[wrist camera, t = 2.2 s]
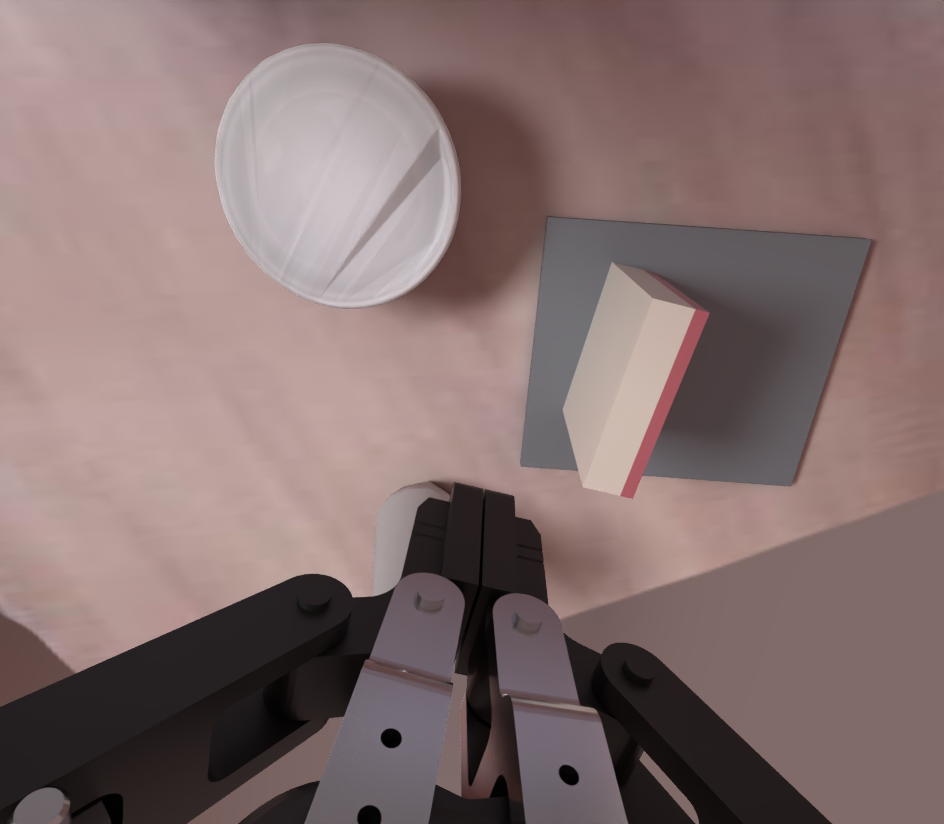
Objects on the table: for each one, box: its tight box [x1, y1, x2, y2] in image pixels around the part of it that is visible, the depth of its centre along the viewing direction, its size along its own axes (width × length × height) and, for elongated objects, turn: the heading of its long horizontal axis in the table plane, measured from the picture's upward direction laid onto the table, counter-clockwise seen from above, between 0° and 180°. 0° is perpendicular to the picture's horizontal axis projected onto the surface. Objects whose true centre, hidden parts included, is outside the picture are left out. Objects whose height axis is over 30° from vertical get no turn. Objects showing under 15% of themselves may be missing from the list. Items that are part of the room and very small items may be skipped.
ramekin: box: [215, 43, 461, 309], centre depth 28 cm, size 11×11×5 cm
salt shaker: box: [372, 481, 450, 596], centre depth 33 cm, size 6×6×13 cm
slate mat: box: [520, 216, 872, 486], centre depth 34 cm, size 15×17×1 cm
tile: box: [563, 262, 710, 499], centre depth 29 cm, size 2×9×9 cm, turn 166°
